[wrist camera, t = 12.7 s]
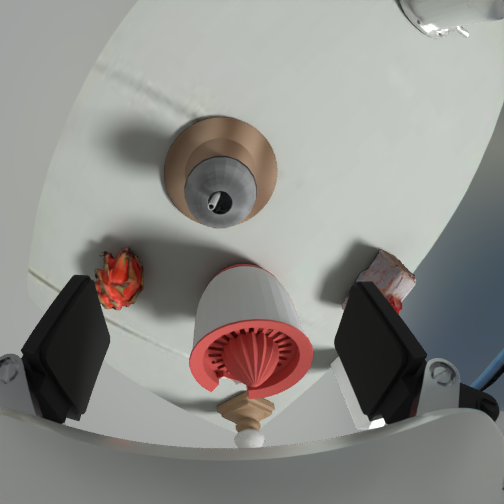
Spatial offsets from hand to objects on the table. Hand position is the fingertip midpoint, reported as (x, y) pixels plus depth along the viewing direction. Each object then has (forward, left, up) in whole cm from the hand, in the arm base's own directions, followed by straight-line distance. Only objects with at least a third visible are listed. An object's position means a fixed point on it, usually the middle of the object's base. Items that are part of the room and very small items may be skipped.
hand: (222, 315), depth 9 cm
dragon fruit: (+16, +16, -32) cm, 39 cm away
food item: (-28, +18, -32) cm, 47 cm away
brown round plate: (0, 0, -32) cm, 32 cm away
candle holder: (-7, +57, -32) cm, 66 cm away
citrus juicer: (-4, +21, -32) cm, 39 cm away
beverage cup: (0, 0, -31) cm, 31 cm away
